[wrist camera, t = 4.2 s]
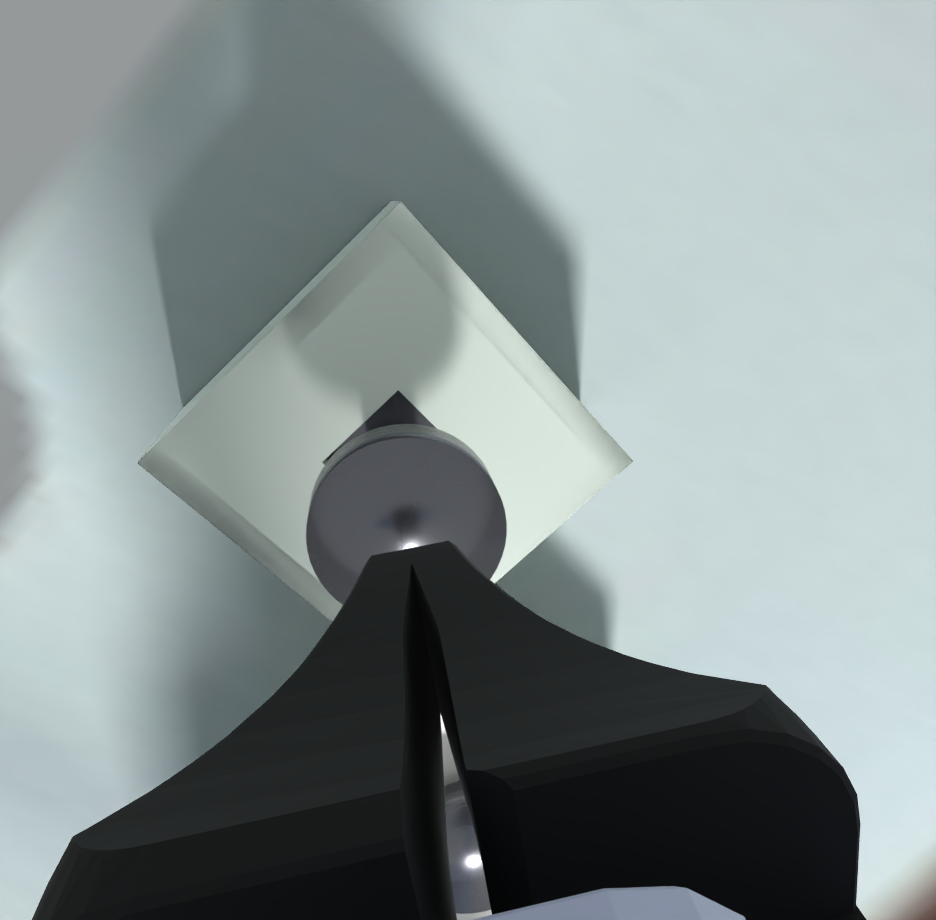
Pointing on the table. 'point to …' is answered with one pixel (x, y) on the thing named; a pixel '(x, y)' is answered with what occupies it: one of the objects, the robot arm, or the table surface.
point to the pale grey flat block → (379, 403)
